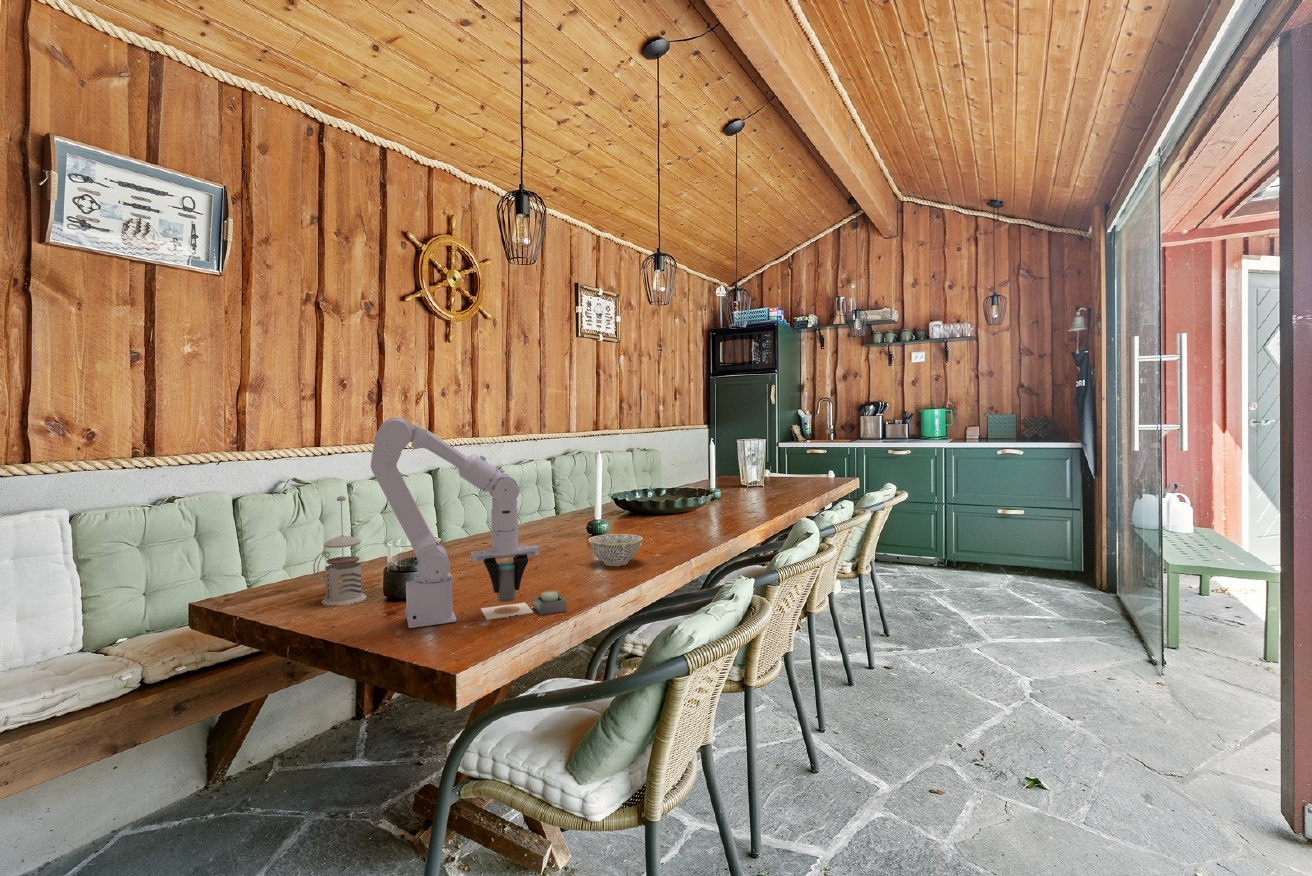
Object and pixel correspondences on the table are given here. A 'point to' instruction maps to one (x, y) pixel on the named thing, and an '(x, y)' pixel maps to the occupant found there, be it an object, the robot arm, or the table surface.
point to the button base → (549, 605)
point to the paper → (506, 611)
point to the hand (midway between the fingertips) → (506, 590)
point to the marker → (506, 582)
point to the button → (549, 596)
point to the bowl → (615, 548)
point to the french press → (342, 572)
